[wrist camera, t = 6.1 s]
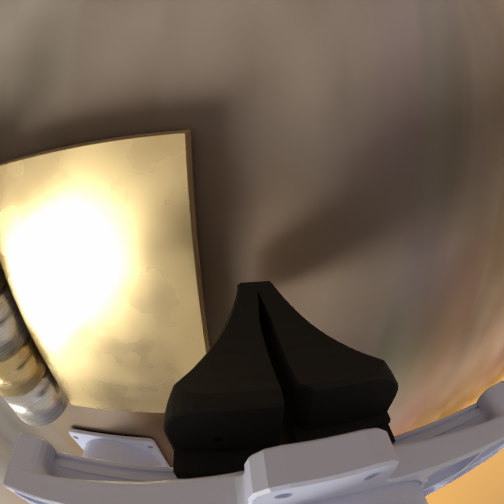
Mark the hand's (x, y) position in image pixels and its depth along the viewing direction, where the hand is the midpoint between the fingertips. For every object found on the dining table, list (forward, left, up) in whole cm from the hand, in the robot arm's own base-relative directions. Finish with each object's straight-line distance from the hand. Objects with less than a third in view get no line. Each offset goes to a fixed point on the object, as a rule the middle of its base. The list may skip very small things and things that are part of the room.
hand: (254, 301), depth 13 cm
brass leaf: (0, +9, -1) cm, 9 cm away
